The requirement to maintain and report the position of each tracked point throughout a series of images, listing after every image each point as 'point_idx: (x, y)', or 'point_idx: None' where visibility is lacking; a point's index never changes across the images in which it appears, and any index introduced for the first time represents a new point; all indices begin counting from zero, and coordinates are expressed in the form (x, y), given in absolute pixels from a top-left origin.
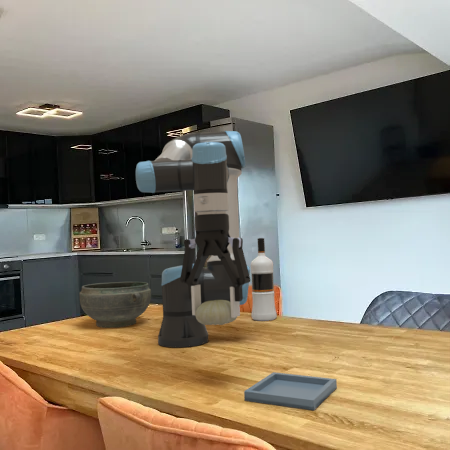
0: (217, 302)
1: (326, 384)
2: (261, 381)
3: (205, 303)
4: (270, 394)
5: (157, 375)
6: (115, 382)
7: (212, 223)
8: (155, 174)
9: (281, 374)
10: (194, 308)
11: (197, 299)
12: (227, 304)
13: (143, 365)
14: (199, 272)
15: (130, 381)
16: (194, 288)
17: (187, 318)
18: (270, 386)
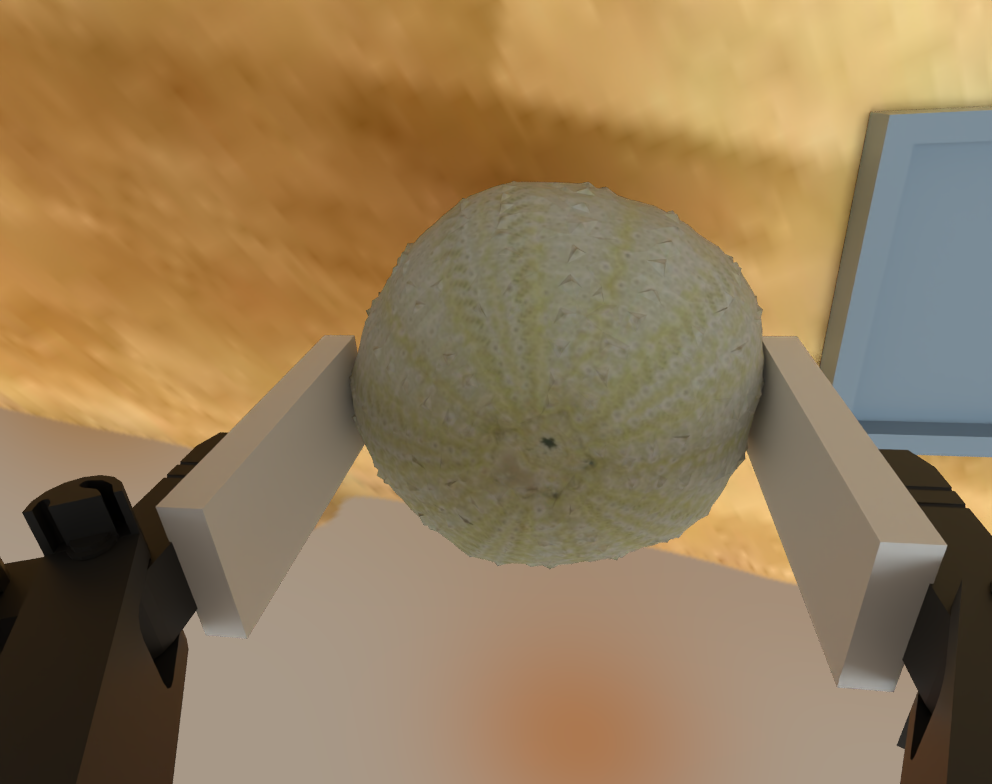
0: (605, 521)
1: None
2: (861, 305)
3: (483, 540)
4: (952, 453)
5: (250, 273)
6: (190, 413)
7: None
8: None
9: (955, 141)
10: (347, 466)
11: (310, 468)
12: (702, 461)
13: (45, 149)
14: (125, 743)
15: (227, 384)
16: (260, 605)
17: None
18: (894, 266)
